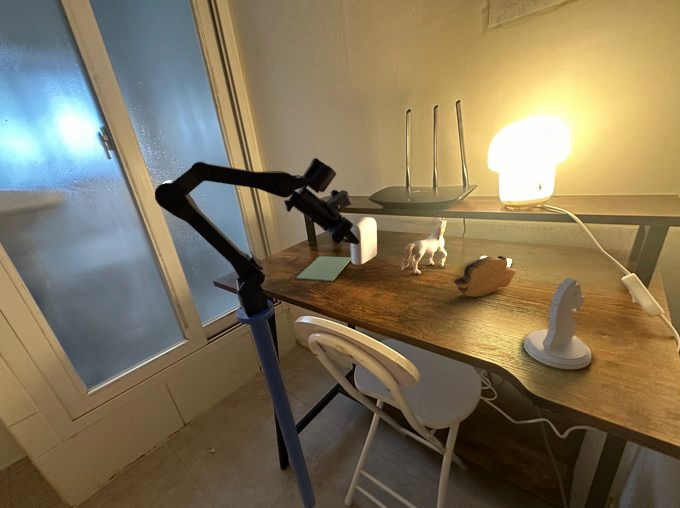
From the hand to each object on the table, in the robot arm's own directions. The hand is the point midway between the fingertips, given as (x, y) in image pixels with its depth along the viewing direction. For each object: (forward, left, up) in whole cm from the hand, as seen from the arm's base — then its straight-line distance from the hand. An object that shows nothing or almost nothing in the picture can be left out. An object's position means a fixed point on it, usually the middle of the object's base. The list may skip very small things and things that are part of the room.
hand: (356, 240), depth 85 cm
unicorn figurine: (+20, -7, -13) cm, 25 cm away
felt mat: (-1, +17, -13) cm, 21 cm away
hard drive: (+28, -24, -13) cm, 39 cm away
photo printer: (+3, 0, -7) cm, 8 cm away
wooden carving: (+15, -29, -13) cm, 35 cm away
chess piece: (+4, -49, -13) cm, 51 cm away
